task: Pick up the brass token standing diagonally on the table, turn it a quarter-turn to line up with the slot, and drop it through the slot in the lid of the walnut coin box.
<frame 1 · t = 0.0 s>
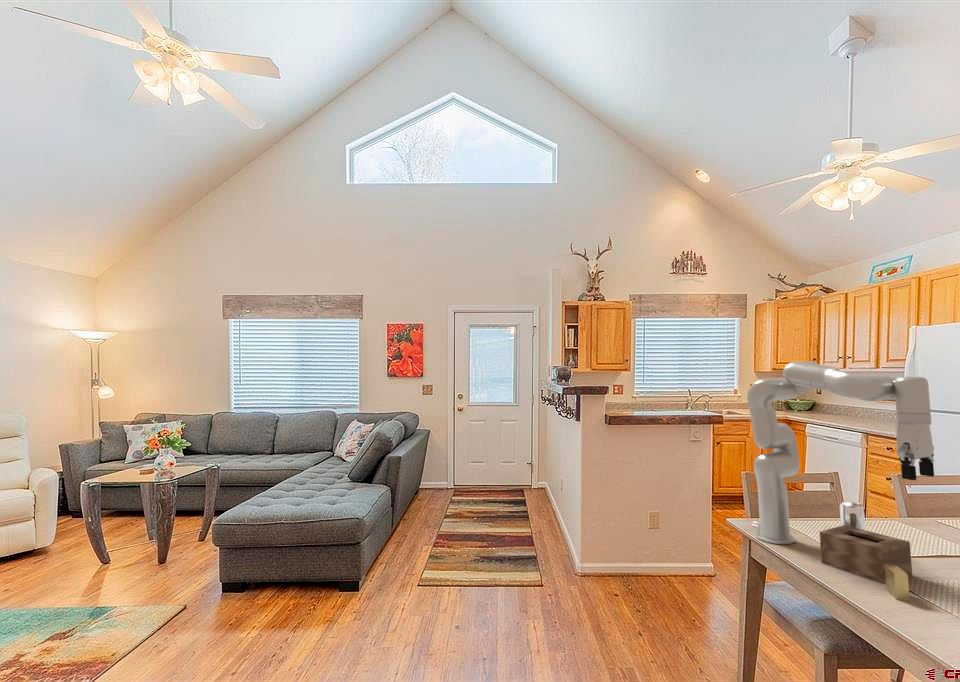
hand: (918, 477, 140), 31 cm above the table, tool pointing down, fingers open, 9 cm apart
token: (897, 595, 134), on the table
coin box: (865, 568, 152), on the table
beer glass: (854, 547, 170), on the table
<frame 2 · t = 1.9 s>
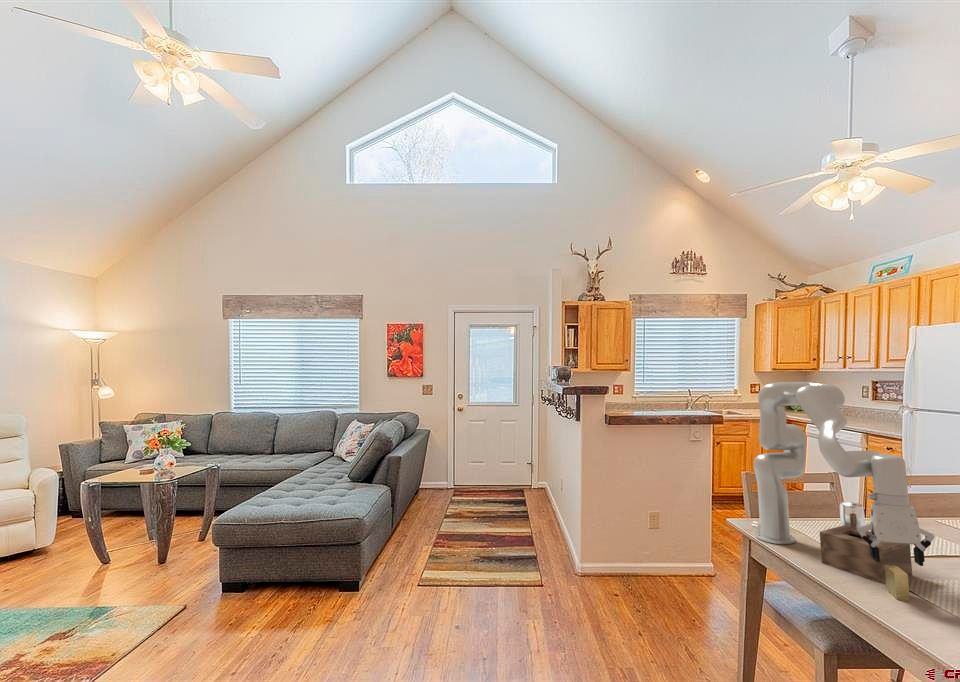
hand: (897, 562, 134), 9 cm above the table, tool pointing down, fingers open, 9 cm apart
nothing on the table moved.
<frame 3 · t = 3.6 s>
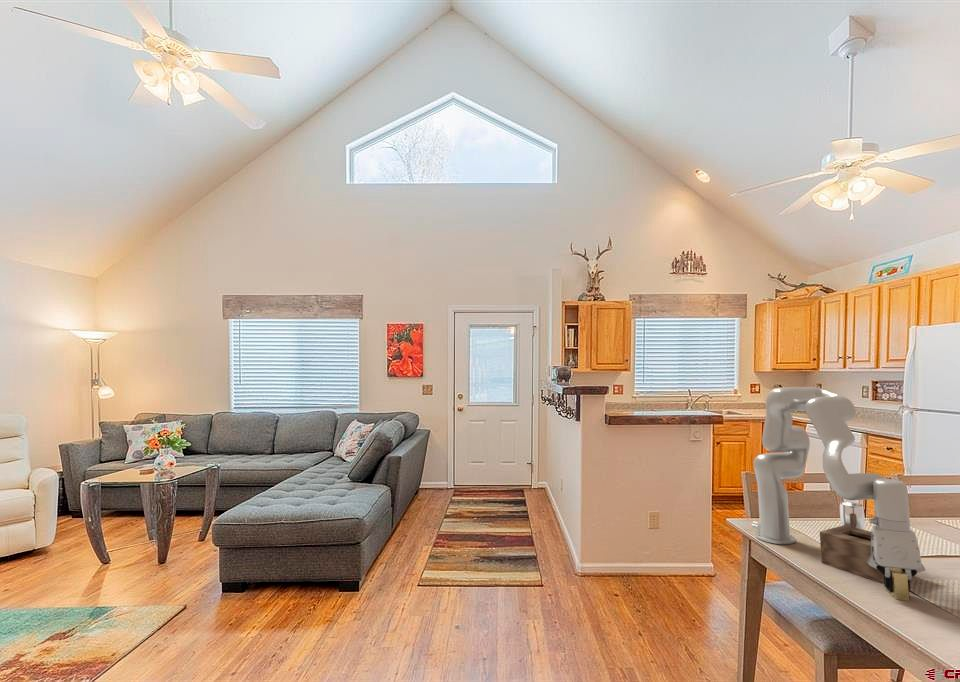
hand: (897, 590, 134), 1 cm above the table, tool pointing down, fingers closed on token, 2 cm apart
token: (897, 595, 134), on the table, touching gripper
everything else where it was.
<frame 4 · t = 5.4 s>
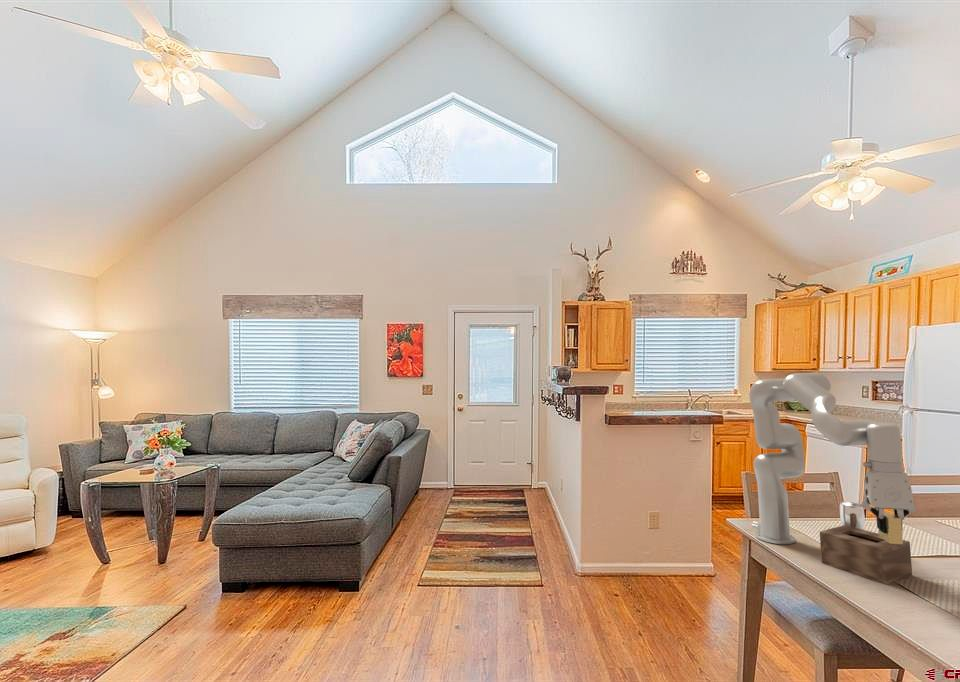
hand: (889, 531, 137), 17 cm above the table, tool pointing down, fingers closed on token, 2 cm apart
token: (890, 540, 136), point 14 cm above the table, touching gripper
everything else where it was.
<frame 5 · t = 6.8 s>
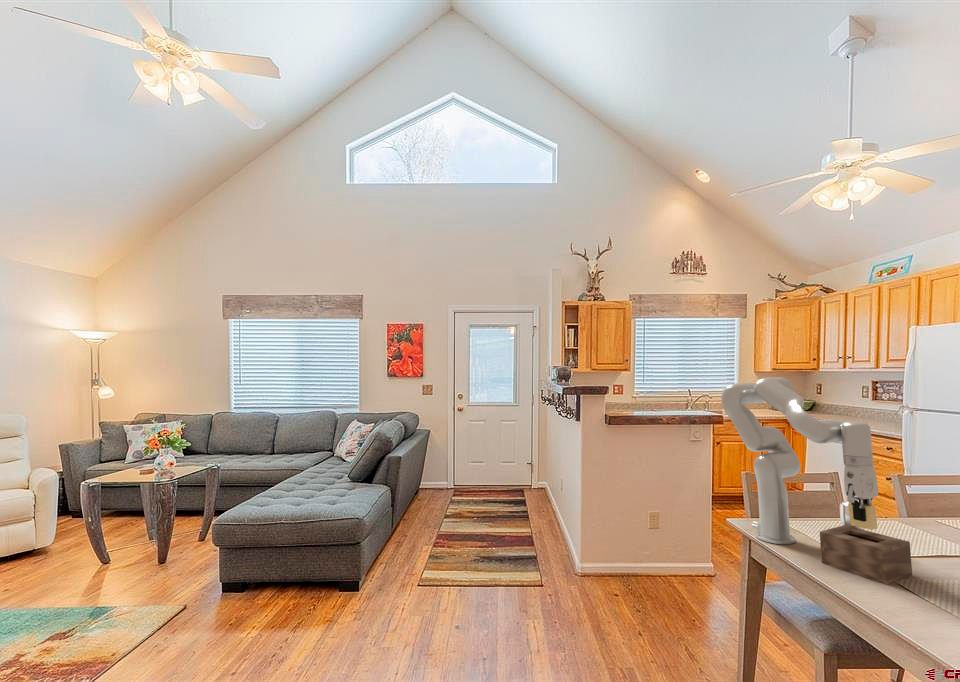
hand: (862, 519, 152), 15 cm above the table, tool pointing down, fingers closed on token, 2 cm apart
token: (863, 526, 152), point 13 cm above the table, touching gripper
everything else where it was.
when the fingers open (13 cm above the table, at t = 7.4 s): token drops 9 cm, resting on coin box.
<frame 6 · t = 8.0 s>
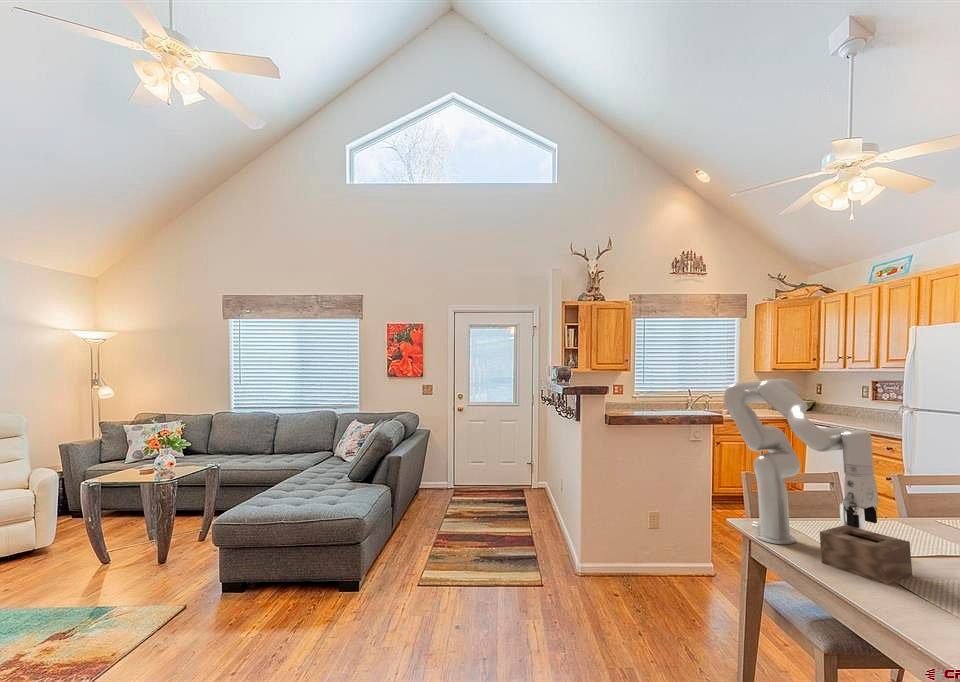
hand: (862, 524, 152), 14 cm above the table, tool pointing down, fingers open, 9 cm apart
token: (867, 566, 151), point 1 cm above the table, touching coin box
everything else where it was.
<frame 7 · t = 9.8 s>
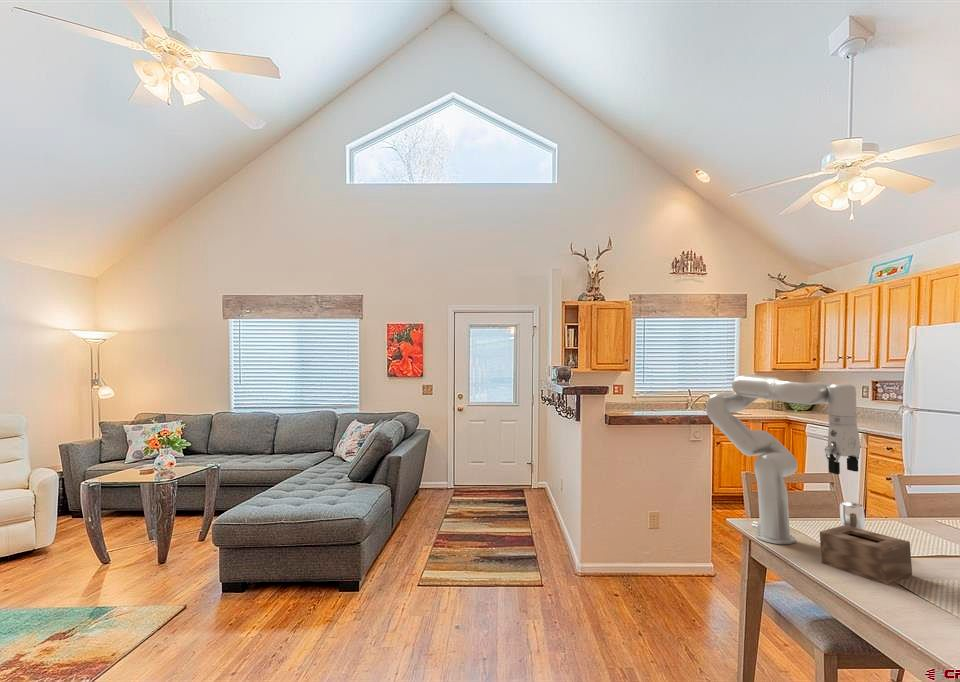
hand: (843, 472, 161), 29 cm above the table, tool pointing down, fingers open, 9 cm apart
nothing on the table moved.
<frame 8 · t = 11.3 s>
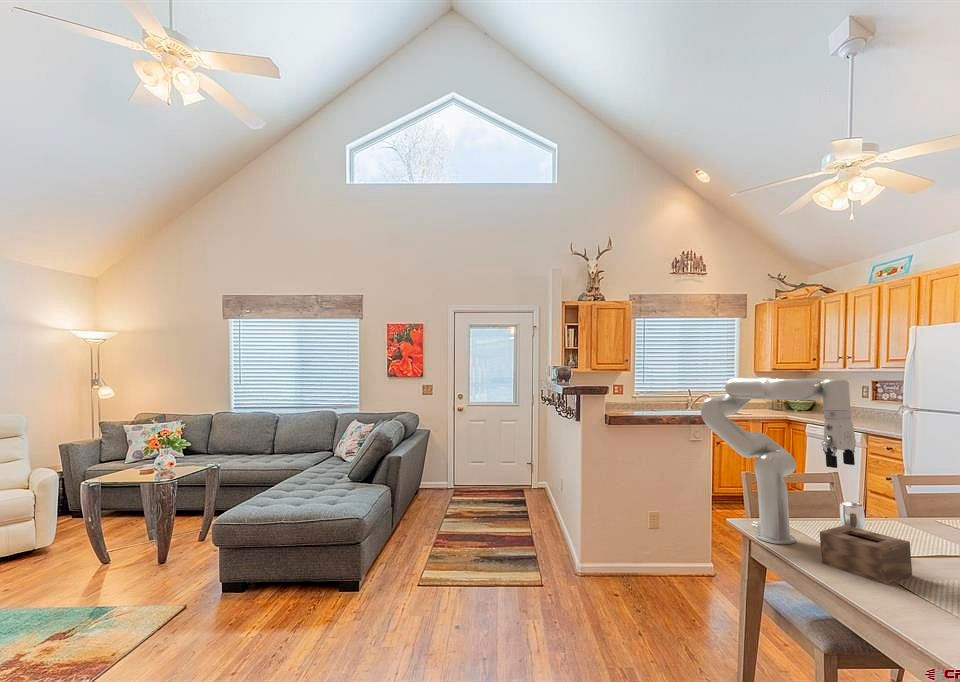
hand: (840, 465, 163), 30 cm above the table, tool pointing down, fingers open, 9 cm apart
nothing on the table moved.
at the end: token inside the target area on the coin box (0.7 cm from its centre), point 1.0 cm above the coin box's base; the gripper is holding nothing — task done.
